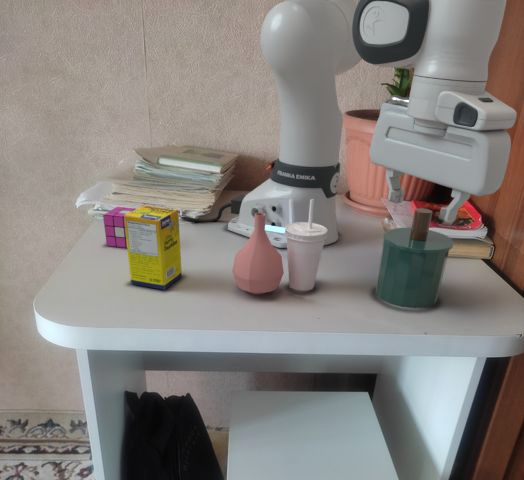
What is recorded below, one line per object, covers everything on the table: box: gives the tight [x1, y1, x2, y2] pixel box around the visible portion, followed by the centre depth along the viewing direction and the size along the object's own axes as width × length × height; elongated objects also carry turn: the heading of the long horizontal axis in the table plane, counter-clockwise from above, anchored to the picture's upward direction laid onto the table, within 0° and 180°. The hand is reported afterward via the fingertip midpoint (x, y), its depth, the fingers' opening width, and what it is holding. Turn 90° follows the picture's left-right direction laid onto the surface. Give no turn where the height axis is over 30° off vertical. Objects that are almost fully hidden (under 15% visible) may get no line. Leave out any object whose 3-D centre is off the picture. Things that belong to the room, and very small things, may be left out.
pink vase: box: [232, 213, 284, 296], centre depth 76 cm, size 8×8×12 cm
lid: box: [382, 207, 454, 253], centre depth 74 cm, size 10×10×5 cm
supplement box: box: [124, 205, 183, 291], centre depth 79 cm, size 6×6×11 cm
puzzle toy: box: [102, 206, 138, 249], centre depth 94 cm, size 6×6×6 cm
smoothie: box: [284, 199, 328, 292], centre depth 77 cm, size 6×6×14 cm
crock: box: [375, 240, 450, 309], centre depth 77 cm, size 9×9×9 cm
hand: (419, 211), depth 73 cm, fingers open, 8 cm apart
